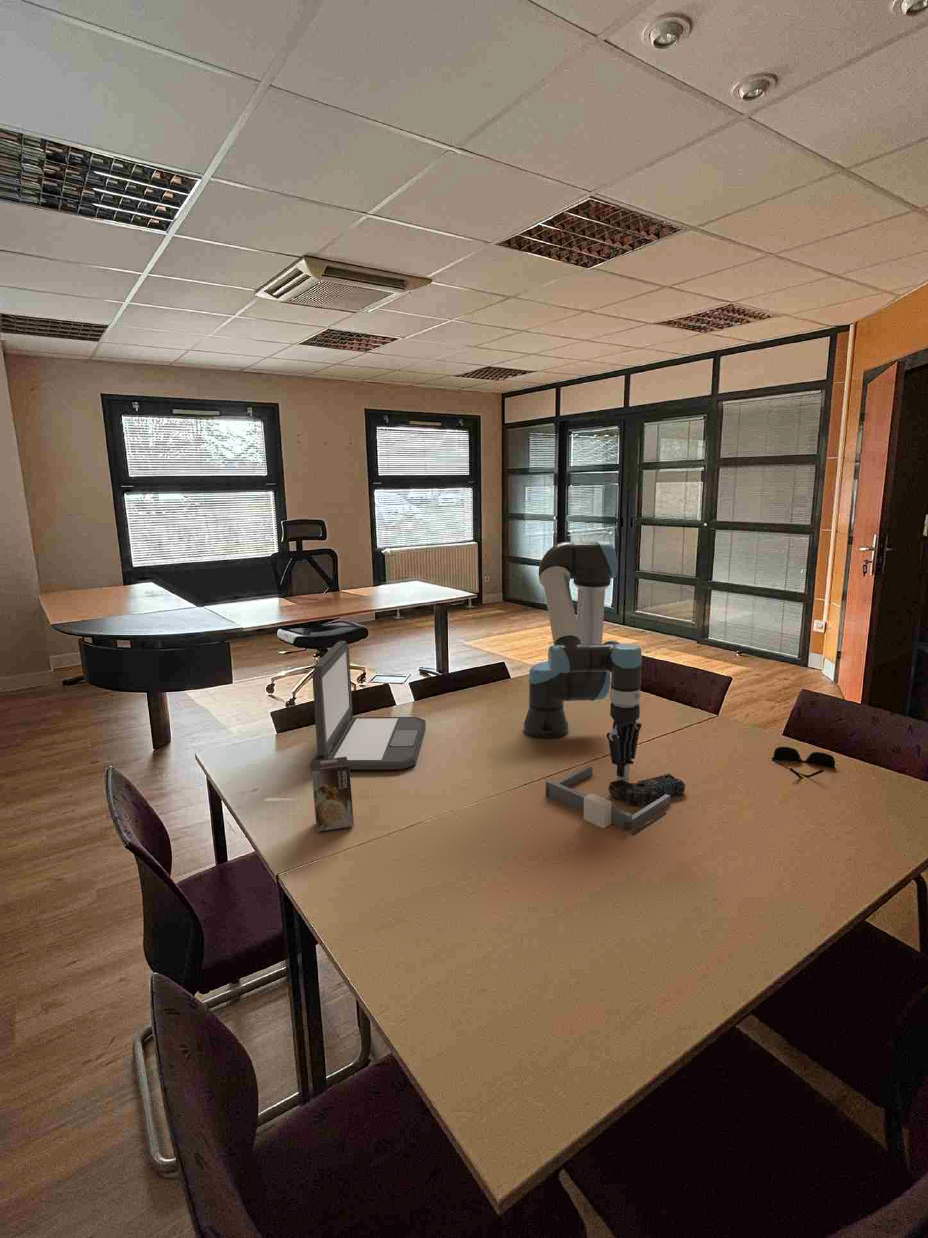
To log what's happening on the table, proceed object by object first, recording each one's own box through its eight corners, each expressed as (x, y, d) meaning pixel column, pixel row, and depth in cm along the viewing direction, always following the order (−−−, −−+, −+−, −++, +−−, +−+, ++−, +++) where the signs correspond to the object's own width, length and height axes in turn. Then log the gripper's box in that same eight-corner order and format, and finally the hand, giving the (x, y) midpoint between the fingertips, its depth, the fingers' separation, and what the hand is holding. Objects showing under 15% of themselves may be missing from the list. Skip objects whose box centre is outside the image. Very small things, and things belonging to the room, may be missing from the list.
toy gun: (606, 779, 167) (631, 796, 158) (662, 766, 175) (689, 780, 166) (606, 794, 168) (630, 811, 159) (661, 780, 176) (688, 795, 167)
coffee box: (351, 814, 161) (348, 755, 158) (354, 826, 155) (350, 766, 152) (315, 819, 159) (310, 760, 155) (316, 832, 153) (311, 771, 149)
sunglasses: (769, 779, 176) (770, 762, 175) (771, 759, 188) (772, 743, 187) (839, 791, 168) (840, 773, 167) (836, 769, 181) (837, 753, 180)
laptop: (414, 772, 184) (409, 668, 178) (309, 772, 186) (302, 669, 179) (426, 724, 222) (423, 637, 216) (340, 724, 223) (334, 638, 217)
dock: (538, 799, 167) (538, 778, 165) (589, 773, 181) (589, 753, 180) (628, 840, 146) (629, 816, 145) (677, 807, 161) (678, 785, 160)
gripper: (623, 712, 158) (620, 799, 163) (651, 700, 167) (648, 782, 171) (598, 705, 164) (596, 789, 168) (627, 694, 172) (624, 774, 177)
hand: (622, 786), depth 170 cm, fingers closed
